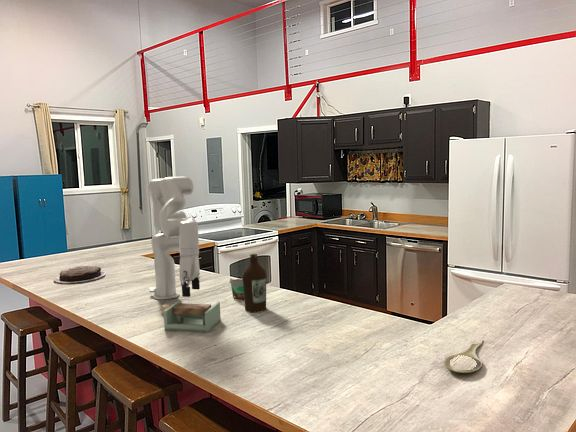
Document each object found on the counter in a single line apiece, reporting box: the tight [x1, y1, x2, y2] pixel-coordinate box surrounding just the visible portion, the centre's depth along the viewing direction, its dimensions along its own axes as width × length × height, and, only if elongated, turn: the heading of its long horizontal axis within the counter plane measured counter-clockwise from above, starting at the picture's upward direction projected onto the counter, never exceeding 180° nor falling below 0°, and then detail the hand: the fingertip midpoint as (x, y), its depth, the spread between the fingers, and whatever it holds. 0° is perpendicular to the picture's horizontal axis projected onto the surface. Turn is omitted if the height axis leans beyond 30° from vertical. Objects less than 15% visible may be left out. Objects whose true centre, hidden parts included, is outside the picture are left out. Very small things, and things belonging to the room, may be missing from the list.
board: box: [173, 302, 212, 315], centre depth 191 cm, size 14×6×3 cm, turn 79°
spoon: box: [443, 343, 483, 374], centre depth 155 cm, size 35×11×2 cm, turn 147°
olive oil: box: [241, 253, 267, 313], centre depth 209 cm, size 11×11×25 cm
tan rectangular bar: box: [161, 303, 172, 316], centre depth 206 cm, size 10×3×4 cm, turn 79°
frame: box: [163, 300, 221, 334], centre depth 191 cm, size 18×14×8 cm
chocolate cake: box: [53, 265, 106, 285], centre depth 277 cm, size 28×28×7 cm
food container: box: [229, 277, 245, 301], centre depth 226 cm, size 12×6×10 cm, turn 105°
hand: (191, 292), depth 191 cm, fingers open, 9 cm apart
